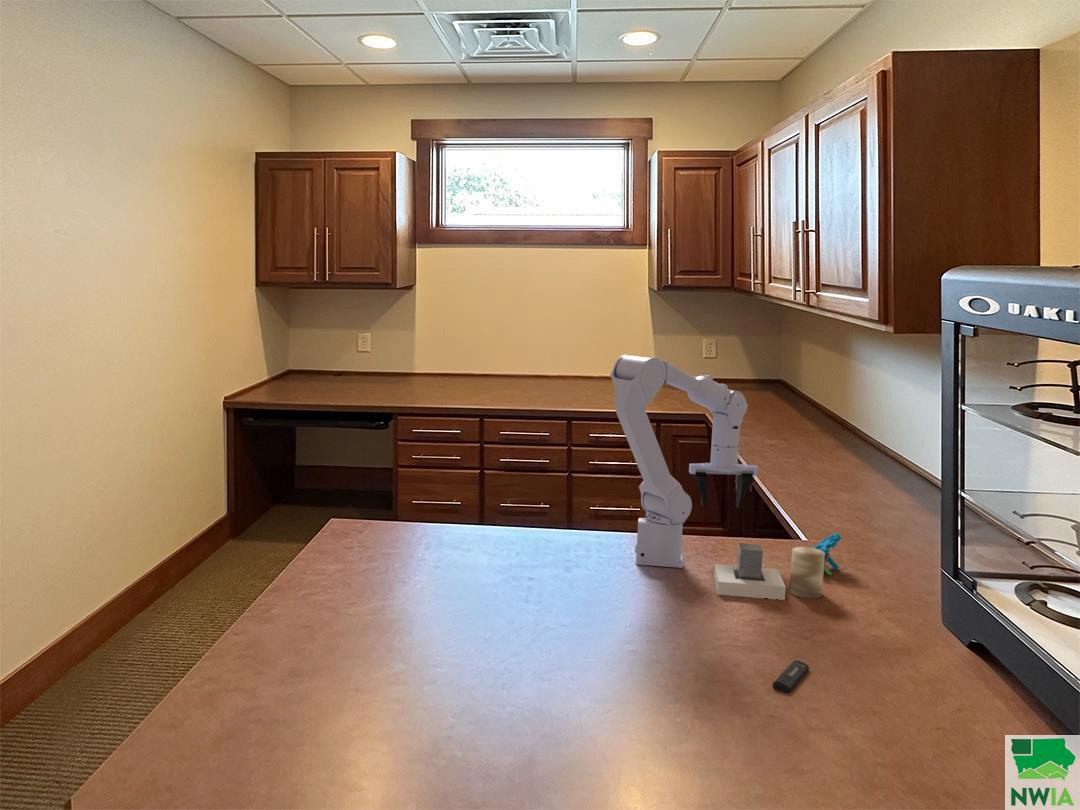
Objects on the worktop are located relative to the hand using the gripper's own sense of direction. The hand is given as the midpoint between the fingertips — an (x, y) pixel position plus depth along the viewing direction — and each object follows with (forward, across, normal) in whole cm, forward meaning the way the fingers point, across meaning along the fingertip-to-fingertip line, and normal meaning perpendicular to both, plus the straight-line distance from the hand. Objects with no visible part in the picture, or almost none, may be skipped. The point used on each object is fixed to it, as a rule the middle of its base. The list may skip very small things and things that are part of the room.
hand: (721, 506), depth 170 cm
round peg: (+10, +11, -24) cm, 28 cm away
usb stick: (+10, -4, -59) cm, 60 cm away
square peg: (+10, 0, -22) cm, 24 cm away
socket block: (+10, 0, -22) cm, 24 cm away
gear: (+10, +19, -10) cm, 23 cm away
